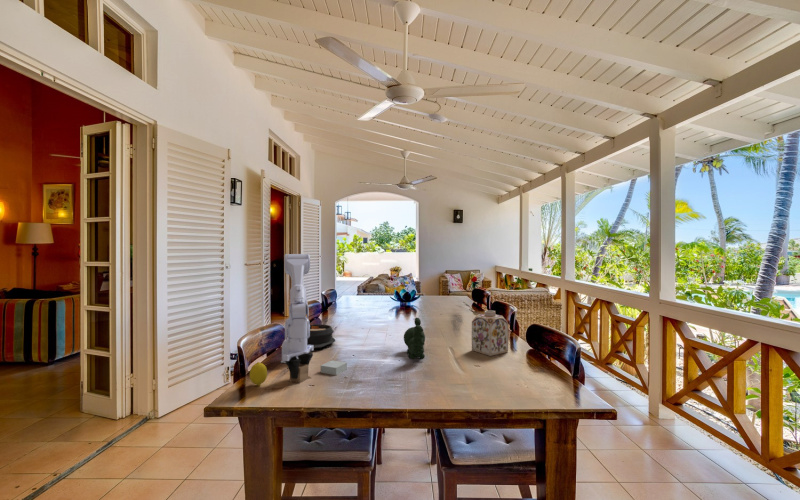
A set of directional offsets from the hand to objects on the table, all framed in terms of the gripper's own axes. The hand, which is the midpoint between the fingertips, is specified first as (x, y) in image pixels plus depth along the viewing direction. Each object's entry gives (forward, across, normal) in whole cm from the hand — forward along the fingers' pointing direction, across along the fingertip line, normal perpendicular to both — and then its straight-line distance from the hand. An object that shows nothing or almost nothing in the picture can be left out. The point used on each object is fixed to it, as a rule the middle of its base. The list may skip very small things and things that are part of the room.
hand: (299, 375), depth 137 cm
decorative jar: (+2, +63, -55) cm, 84 cm away
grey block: (+2, +13, -6) cm, 14 cm away
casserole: (+2, +42, +23) cm, 48 cm away
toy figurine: (+2, +44, -27) cm, 52 cm away
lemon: (+2, -10, +9) cm, 14 cm away
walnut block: (+1, 0, 0) cm, 1 cm away
